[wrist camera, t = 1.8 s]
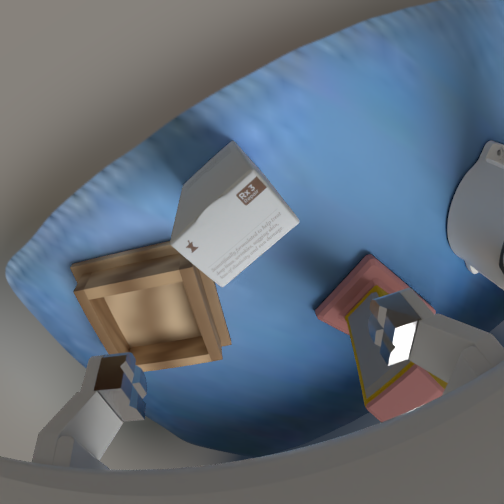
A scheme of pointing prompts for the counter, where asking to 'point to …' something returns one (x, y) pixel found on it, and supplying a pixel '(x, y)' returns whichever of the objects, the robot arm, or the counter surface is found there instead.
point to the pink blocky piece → (368, 354)
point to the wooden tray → (152, 307)
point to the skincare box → (229, 216)
